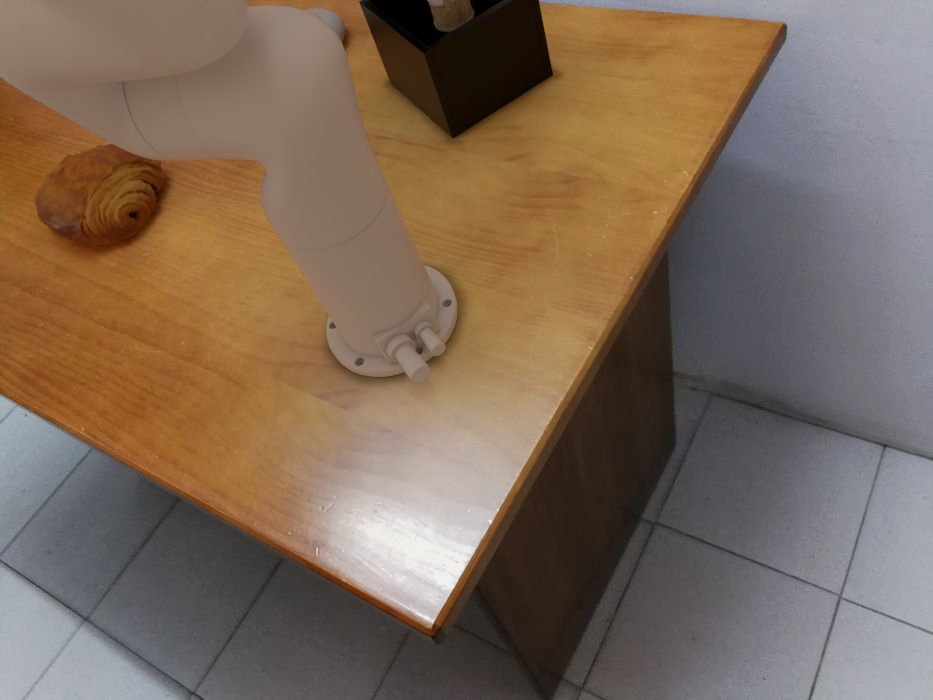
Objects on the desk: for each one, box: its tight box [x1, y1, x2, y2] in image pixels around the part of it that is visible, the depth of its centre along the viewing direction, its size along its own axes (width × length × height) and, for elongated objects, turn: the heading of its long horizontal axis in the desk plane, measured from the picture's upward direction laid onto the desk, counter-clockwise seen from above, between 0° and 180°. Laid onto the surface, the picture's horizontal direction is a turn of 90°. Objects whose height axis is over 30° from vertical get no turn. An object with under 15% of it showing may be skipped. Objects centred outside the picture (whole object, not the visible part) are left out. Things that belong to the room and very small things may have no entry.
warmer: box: [358, 0, 554, 139], centre depth 88 cm, size 15×14×11 cm
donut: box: [304, 7, 346, 43], centre depth 103 cm, size 10×4×10 cm
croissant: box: [34, 143, 166, 246], centre depth 93 cm, size 14×16×8 cm
